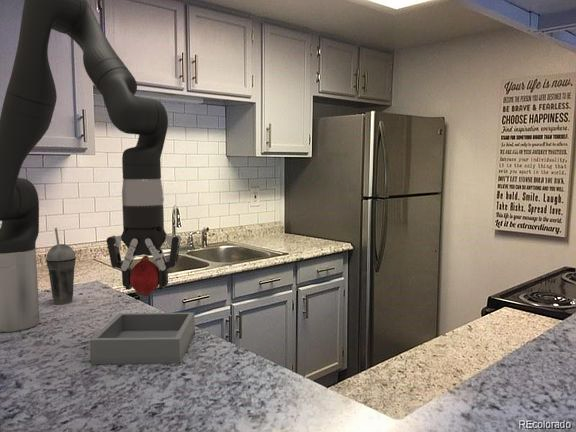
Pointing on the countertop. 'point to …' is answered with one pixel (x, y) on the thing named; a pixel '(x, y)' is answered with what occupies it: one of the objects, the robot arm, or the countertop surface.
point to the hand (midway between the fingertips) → (145, 288)
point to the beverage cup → (61, 272)
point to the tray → (143, 338)
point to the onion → (144, 277)
